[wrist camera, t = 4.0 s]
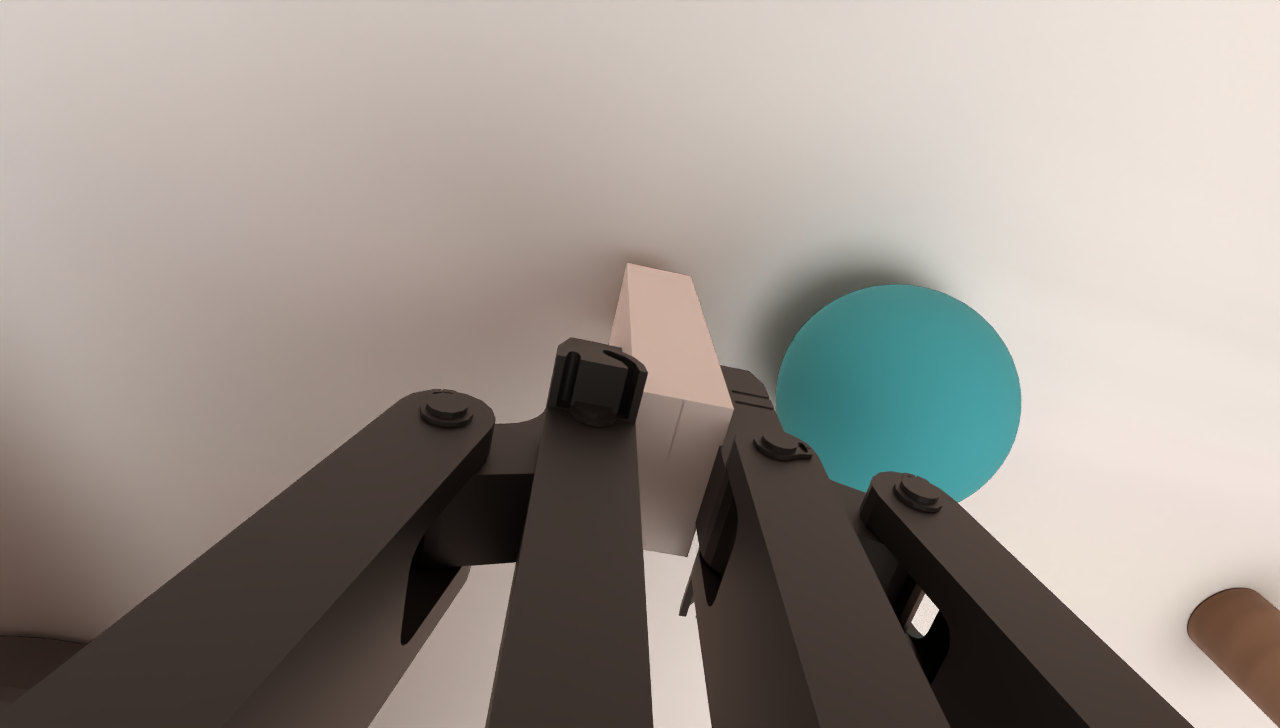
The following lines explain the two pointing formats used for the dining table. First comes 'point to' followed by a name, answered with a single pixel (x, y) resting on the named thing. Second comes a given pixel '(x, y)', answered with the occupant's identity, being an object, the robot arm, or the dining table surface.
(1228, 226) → the dining table surface
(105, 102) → the dining table surface
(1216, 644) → the post
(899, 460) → the ball
